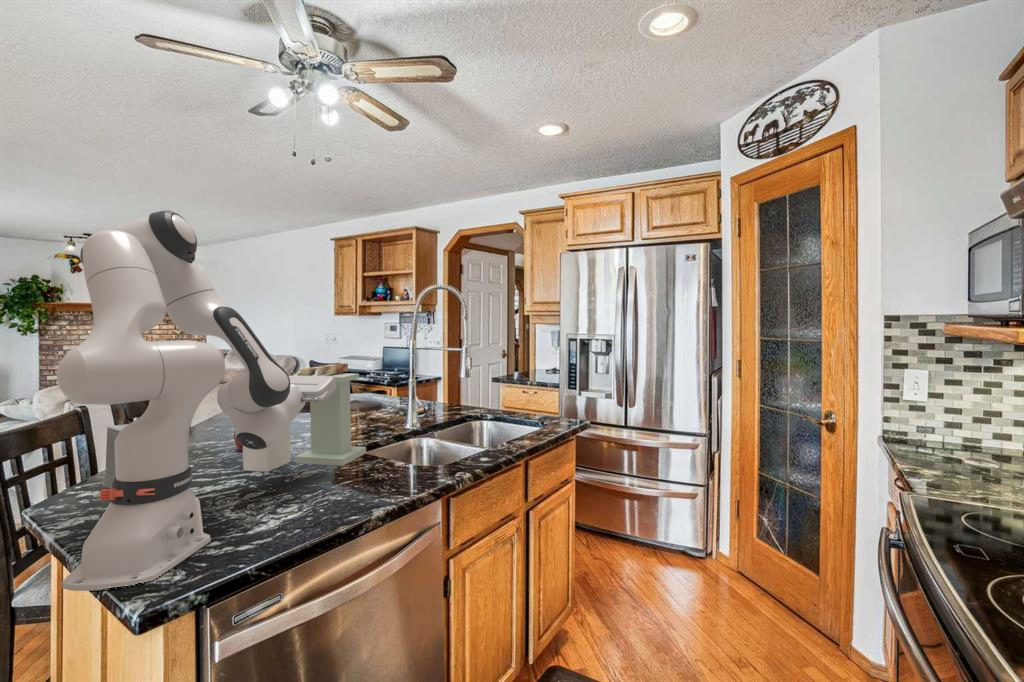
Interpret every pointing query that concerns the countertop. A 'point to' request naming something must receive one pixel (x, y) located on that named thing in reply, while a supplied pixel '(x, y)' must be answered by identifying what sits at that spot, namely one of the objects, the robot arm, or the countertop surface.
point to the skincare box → (111, 454)
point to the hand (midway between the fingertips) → (313, 370)
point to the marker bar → (325, 369)
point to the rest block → (268, 454)
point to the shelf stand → (332, 427)
